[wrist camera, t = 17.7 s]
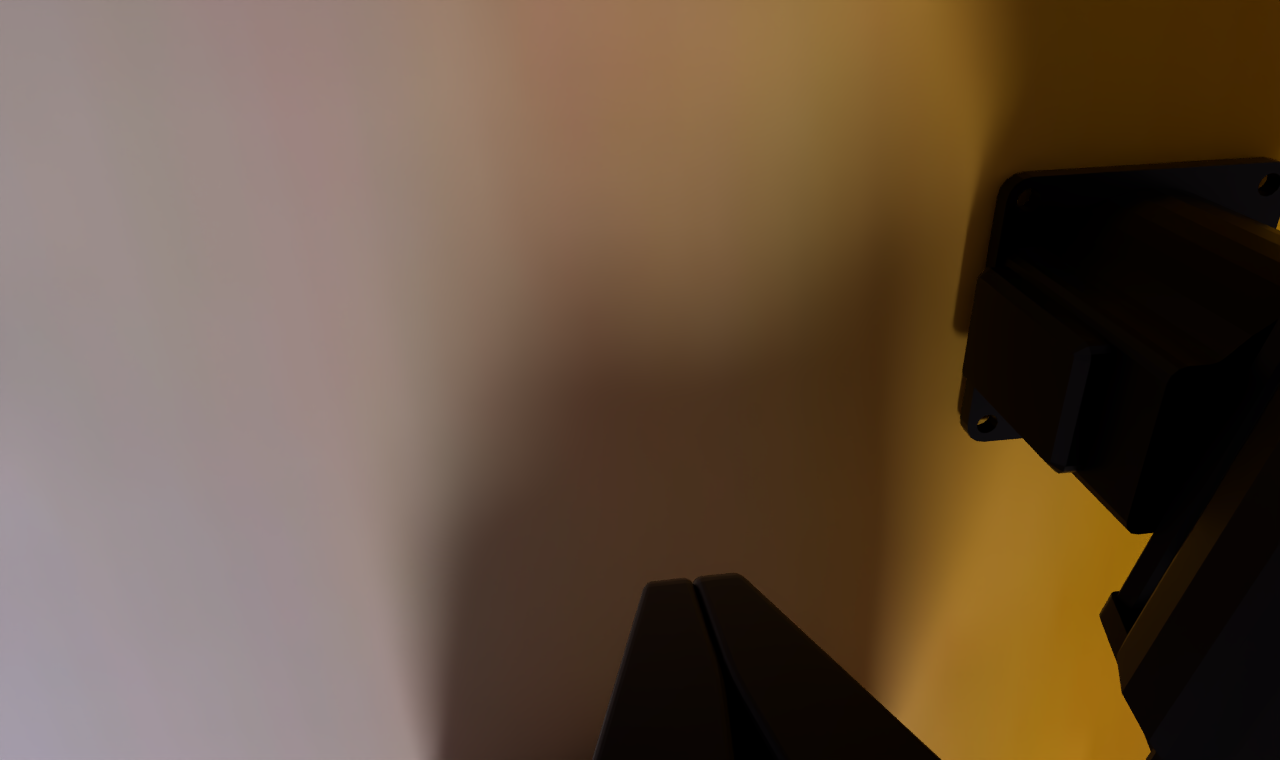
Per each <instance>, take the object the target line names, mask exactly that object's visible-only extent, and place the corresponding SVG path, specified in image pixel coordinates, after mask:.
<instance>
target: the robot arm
mask: <svg viewBox="0 0 1280 760" xmlns="http://www.w3.org/2000/svg"><path fill="white" fill-rule="evenodd" d="M1266 175H1267V180H1266V182H1265V183H1264V185H1263V186H1262V187H1261V188H1259V189H1258V185H1259V183H1260V182H1261V180H1262V179H1263V178H1264V177H1265V176H1266ZM1030 188H1031V195H1030V197H1029V200H1028V201H1027V202H1026V203H1025V204H1024V205H1021V206H1018V205H1017V200H1018V198H1019V196H1020V194H1021V193H1022V192H1024V191H1025V190H1027V189H1030ZM1279 218H1280V161H1277V160H1274V159H1271V158H1266V157H1256V158H1240V159H1223V160H1207V161H1191V162H1175V163H1158V164H1142V165H1126V166H1109V167H1093V168H1077V169H1060V170H1044V171H1028V172H1021V173H1017V174H1014V175H1013V176H1011V177H1010V178H1008V179H1007V180H1006V181H1005V182H1004V184H1003V185H1002V186H1001V187H1000V190H999V193H998V196H997V201H996V207H995V213H994V219H993V225H992V231H991V237H990V243H989V249H988V255H987V261H986V267H985V270H984V271H983V272H982V273H981V275H980V276H979V277H978V279H977V284H976V290H975V296H974V303H973V309H972V315H971V321H970V327H969V333H968V339H967V345H966V351H965V357H964V363H963V369H962V373H963V376H964V377H965V378H966V379H967V380H966V386H965V392H964V397H963V403H962V409H961V415H960V423H961V426H962V427H963V429H964V430H965V431H966V432H967V434H968V435H969V436H970V437H971V438H972V439H974V440H976V441H983V442H986V441H996V440H1007V439H1018V438H1023V439H1024V440H1025V441H1026V442H1027V443H1028V444H1029V445H1030V446H1031V447H1032V448H1033V450H1034V451H1035V452H1036V453H1037V454H1038V455H1039V456H1040V457H1041V458H1042V459H1043V460H1044V461H1045V462H1046V463H1047V464H1048V465H1049V466H1050V467H1051V468H1052V469H1053V470H1054V471H1055V472H1057V473H1069V472H1071V473H1072V474H1073V475H1074V476H1075V477H1076V478H1077V479H1078V480H1079V481H1080V482H1081V483H1082V484H1083V485H1084V486H1085V487H1086V488H1087V489H1088V490H1089V491H1090V492H1091V493H1092V494H1093V495H1094V496H1095V497H1096V498H1097V499H1098V500H1099V501H1100V502H1101V503H1102V504H1103V505H1104V506H1105V507H1106V508H1107V509H1108V510H1109V511H1110V512H1111V513H1112V514H1113V515H1114V517H1115V518H1116V519H1117V520H1118V521H1119V522H1120V523H1121V524H1122V525H1123V526H1124V527H1125V528H1126V529H1127V530H1128V531H1129V532H1130V533H1132V534H1146V533H1153V535H1152V536H1151V538H1150V540H1149V542H1148V543H1147V545H1146V547H1145V548H1144V550H1143V552H1142V554H1141V555H1140V557H1139V559H1138V560H1137V562H1136V564H1135V566H1134V567H1133V569H1132V571H1131V572H1130V574H1129V576H1128V578H1127V579H1126V581H1125V583H1124V584H1123V586H1122V588H1121V590H1120V591H1115V592H1113V593H1111V595H1110V597H1109V598H1108V600H1107V602H1106V604H1105V605H1104V607H1103V609H1102V611H1101V612H1100V614H1099V615H1100V619H1101V622H1102V625H1103V627H1104V630H1105V633H1106V635H1107V638H1108V640H1109V643H1110V646H1111V648H1112V651H1113V654H1114V656H1115V659H1116V661H1117V664H1118V670H1119V677H1120V684H1121V691H1122V694H1123V696H1124V698H1125V700H1126V702H1127V703H1128V705H1129V707H1130V709H1131V711H1132V713H1133V714H1134V716H1135V718H1136V720H1137V722H1138V723H1139V725H1140V727H1141V729H1142V731H1143V733H1144V735H1145V737H1146V740H1147V743H1148V745H1149V748H1150V751H1151V752H1150V754H1149V755H1148V757H1147V758H1146V760H1280V231H1279V230H1277V229H1276V227H1277V224H1278V221H1279ZM986 415H990V416H989V418H988V420H986V421H985V422H984V423H982V424H979V425H977V424H978V422H979V420H980V419H981V418H982V417H984V416H986ZM592 760H941V759H940V758H939V757H938V756H937V755H936V754H935V753H934V752H932V751H931V750H930V749H929V748H928V747H927V746H926V745H925V744H924V743H923V742H922V741H921V740H920V739H918V738H917V737H916V736H915V735H914V734H913V733H912V732H911V731H910V730H909V729H908V728H907V727H905V726H904V725H903V724H902V723H901V722H900V721H899V720H898V719H897V718H896V717H895V716H894V715H892V714H891V713H890V712H889V711H888V710H887V709H886V708H885V707H884V706H883V705H882V704H881V703H880V702H878V701H877V700H876V699H875V698H874V697H873V696H872V695H871V694H870V693H869V692H868V691H867V690H865V689H864V688H863V687H862V686H861V685H860V684H859V683H858V682H857V681H856V680H855V679H854V678H853V677H851V676H850V675H849V674H848V673H847V672H846V671H845V670H844V669H843V668H842V667H841V666H840V665H838V664H837V663H836V662H835V661H834V660H833V659H832V658H831V657H830V656H829V655H828V654H827V653H825V652H824V651H823V650H822V649H821V648H820V647H819V646H818V645H817V644H816V643H815V642H814V641H813V640H811V639H810V638H809V637H808V636H807V635H806V634H805V633H804V632H803V631H802V630H801V629H800V628H798V627H797V626H796V625H795V624H794V623H793V622H792V621H791V620H790V619H789V618H788V617H787V616H786V615H784V614H783V613H782V612H781V611H780V610H779V609H778V608H777V607H776V606H775V605H774V604H773V603H771V602H770V601H769V600H768V599H767V598H766V597H765V596H764V595H763V594H762V593H761V592H760V591H758V590H757V589H756V588H755V587H754V586H753V585H752V584H751V583H750V582H749V581H748V580H747V579H746V578H744V577H743V576H741V575H739V574H737V573H727V574H717V575H708V576H700V577H698V578H696V579H695V581H694V582H693V583H692V582H691V581H690V580H688V579H686V578H680V579H670V580H661V581H652V582H649V583H647V584H646V585H645V587H644V588H643V591H642V594H641V598H640V601H639V604H638V608H637V611H636V614H635V618H634V621H633V624H632V628H631V631H630V634H629V638H628V641H627V645H626V648H625V651H624V655H623V658H622V661H621V665H620V668H619V671H618V675H617V678H616V681H615V685H614V688H613V691H612V695H611V698H610V701H609V705H608V708H607V712H606V715H605V718H604V722H603V725H602V728H601V732H600V735H599V738H598V742H597V745H596V748H595V752H594V755H593V758H592Z"/></svg>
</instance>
